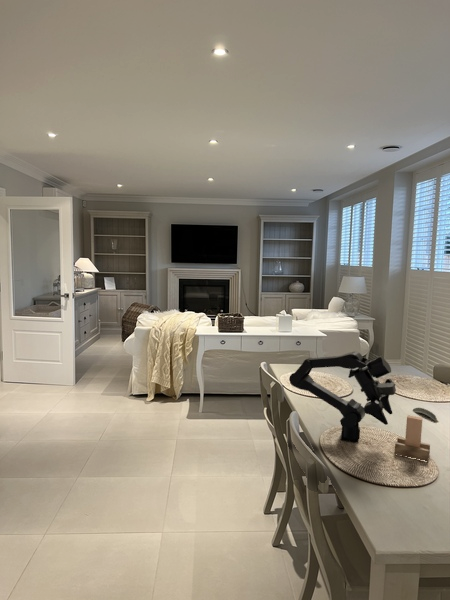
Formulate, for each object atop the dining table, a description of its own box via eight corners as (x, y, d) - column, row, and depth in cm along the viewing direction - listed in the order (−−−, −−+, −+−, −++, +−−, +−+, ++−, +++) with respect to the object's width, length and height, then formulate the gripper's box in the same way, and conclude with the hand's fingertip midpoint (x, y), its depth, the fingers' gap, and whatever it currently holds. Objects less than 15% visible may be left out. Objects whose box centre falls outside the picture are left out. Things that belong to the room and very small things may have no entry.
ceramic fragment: (411, 411, 195) (412, 403, 195) (420, 410, 197) (421, 402, 197) (435, 423, 182) (435, 415, 182) (444, 422, 184) (445, 414, 183)
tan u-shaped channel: (394, 454, 151) (394, 444, 151) (397, 446, 158) (398, 436, 158) (427, 462, 146) (428, 452, 145) (429, 453, 153) (430, 443, 152)
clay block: (404, 451, 152) (406, 417, 151) (405, 448, 154) (407, 415, 153) (419, 454, 150) (422, 420, 148) (420, 452, 152) (422, 417, 150)
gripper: (380, 383, 147) (405, 422, 145) (390, 366, 162) (412, 402, 160) (353, 394, 153) (376, 432, 151) (365, 377, 168) (386, 411, 166)
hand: (389, 419), depth 157 cm, fingers open, 9 cm apart
